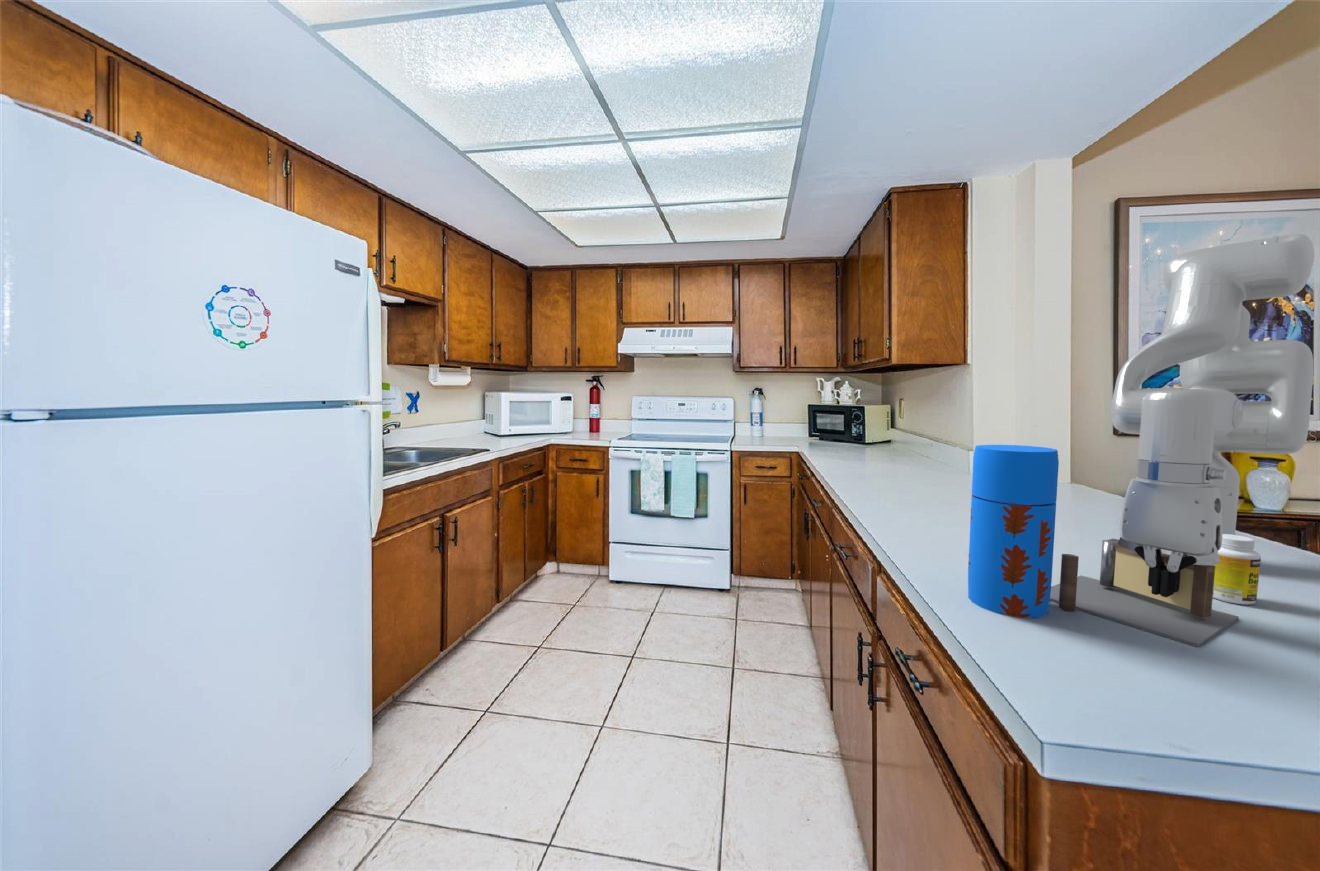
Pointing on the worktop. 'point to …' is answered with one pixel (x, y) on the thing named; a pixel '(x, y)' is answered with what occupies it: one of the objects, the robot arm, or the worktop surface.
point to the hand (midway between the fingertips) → (1162, 593)
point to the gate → (1133, 575)
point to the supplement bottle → (1237, 570)
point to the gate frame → (1133, 607)
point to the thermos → (1012, 529)
